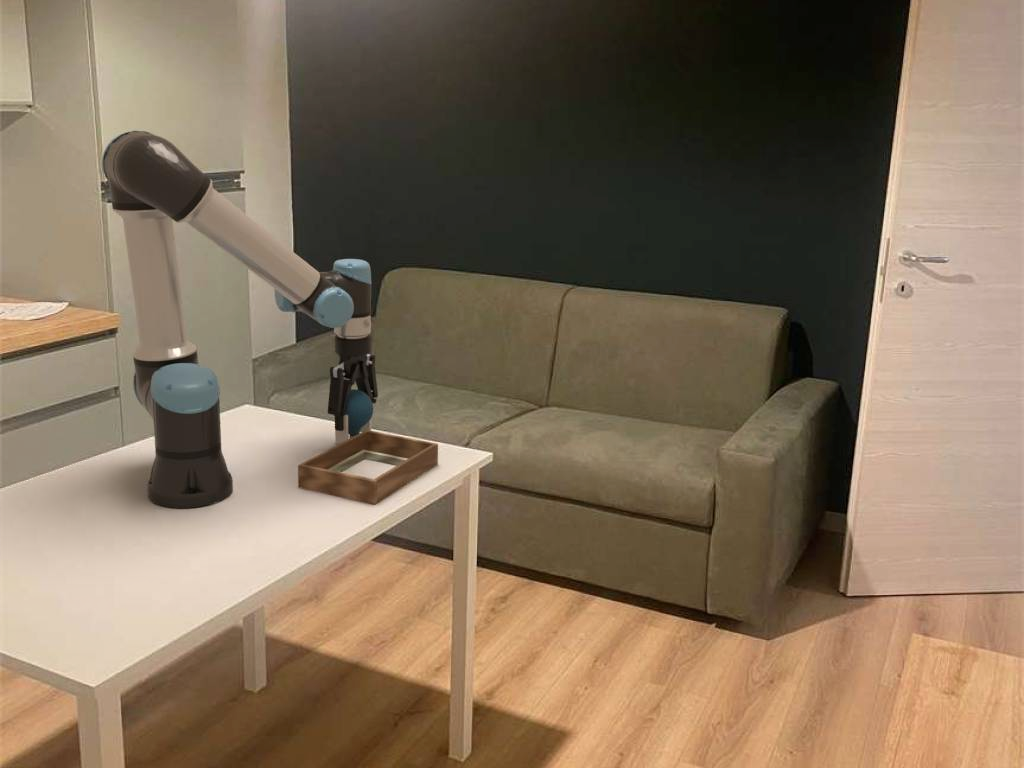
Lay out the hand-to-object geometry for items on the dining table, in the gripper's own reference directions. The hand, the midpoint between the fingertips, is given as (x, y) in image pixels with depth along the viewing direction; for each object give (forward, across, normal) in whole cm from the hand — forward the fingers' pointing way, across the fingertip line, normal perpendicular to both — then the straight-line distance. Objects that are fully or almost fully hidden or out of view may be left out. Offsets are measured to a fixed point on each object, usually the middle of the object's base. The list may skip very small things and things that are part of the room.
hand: (353, 437), depth 225 cm
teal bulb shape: (+2, 0, 0) cm, 2 cm away
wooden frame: (+1, -14, -13) cm, 19 cm away
